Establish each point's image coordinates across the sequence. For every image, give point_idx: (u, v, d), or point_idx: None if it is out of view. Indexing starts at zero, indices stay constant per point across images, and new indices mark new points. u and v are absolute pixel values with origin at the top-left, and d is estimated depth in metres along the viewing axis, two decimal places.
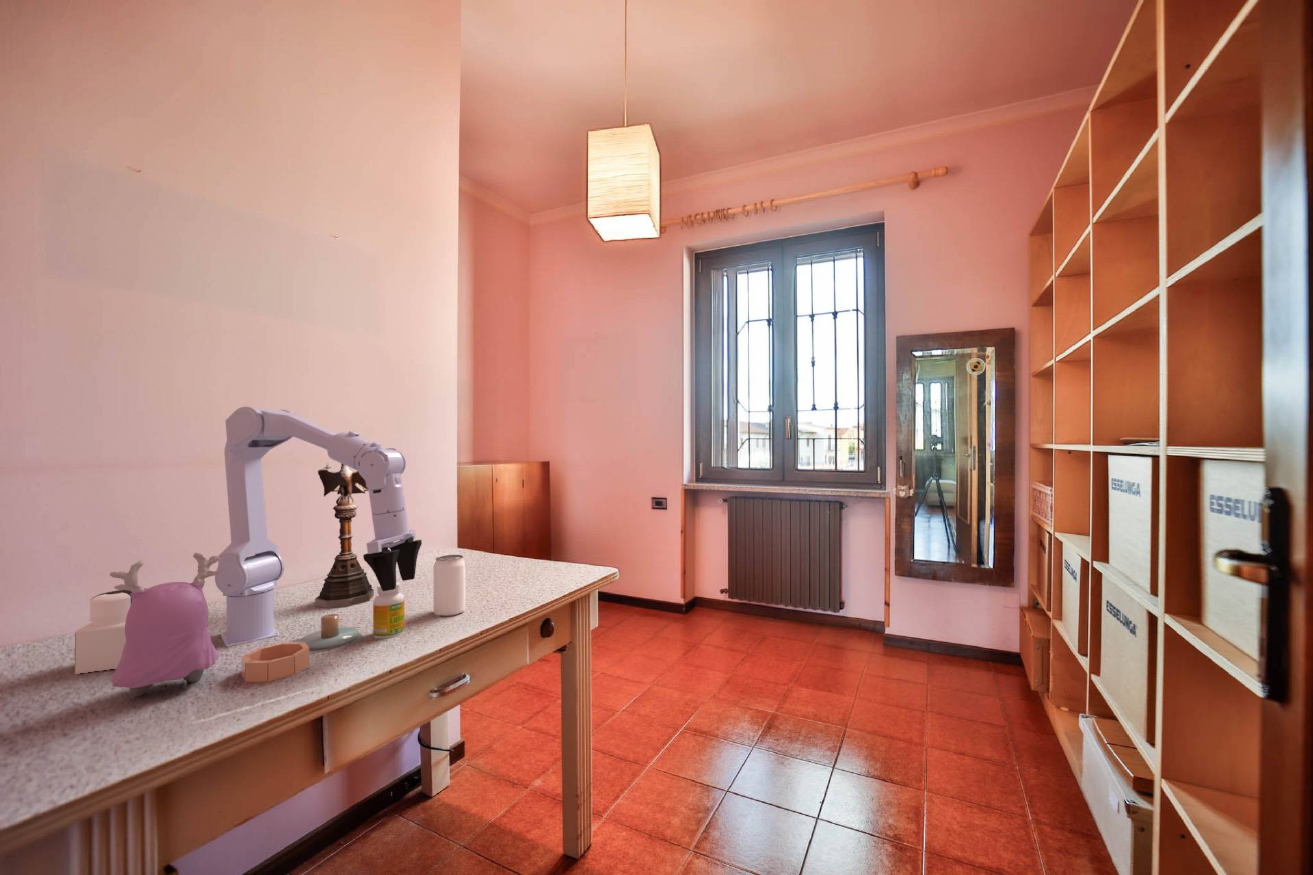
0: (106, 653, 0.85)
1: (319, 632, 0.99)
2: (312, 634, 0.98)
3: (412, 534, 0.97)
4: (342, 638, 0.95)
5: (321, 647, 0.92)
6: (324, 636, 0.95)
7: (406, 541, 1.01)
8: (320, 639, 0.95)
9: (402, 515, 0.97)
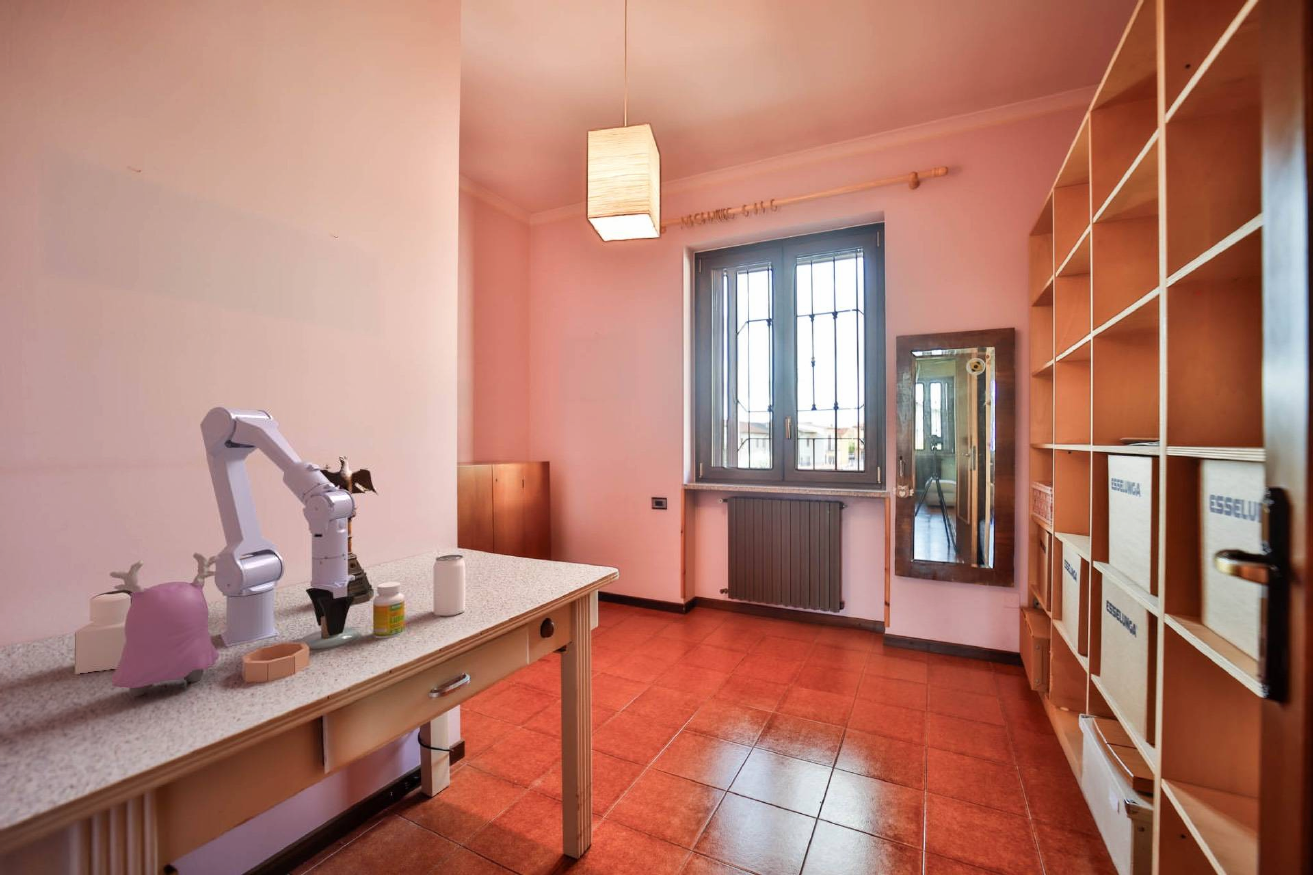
0: (106, 653, 0.85)
1: (319, 632, 0.99)
2: (312, 634, 0.98)
3: (354, 577, 0.99)
4: (342, 638, 0.95)
5: (321, 647, 0.92)
6: (324, 636, 0.95)
7: None
8: (320, 639, 0.95)
9: (347, 558, 0.99)
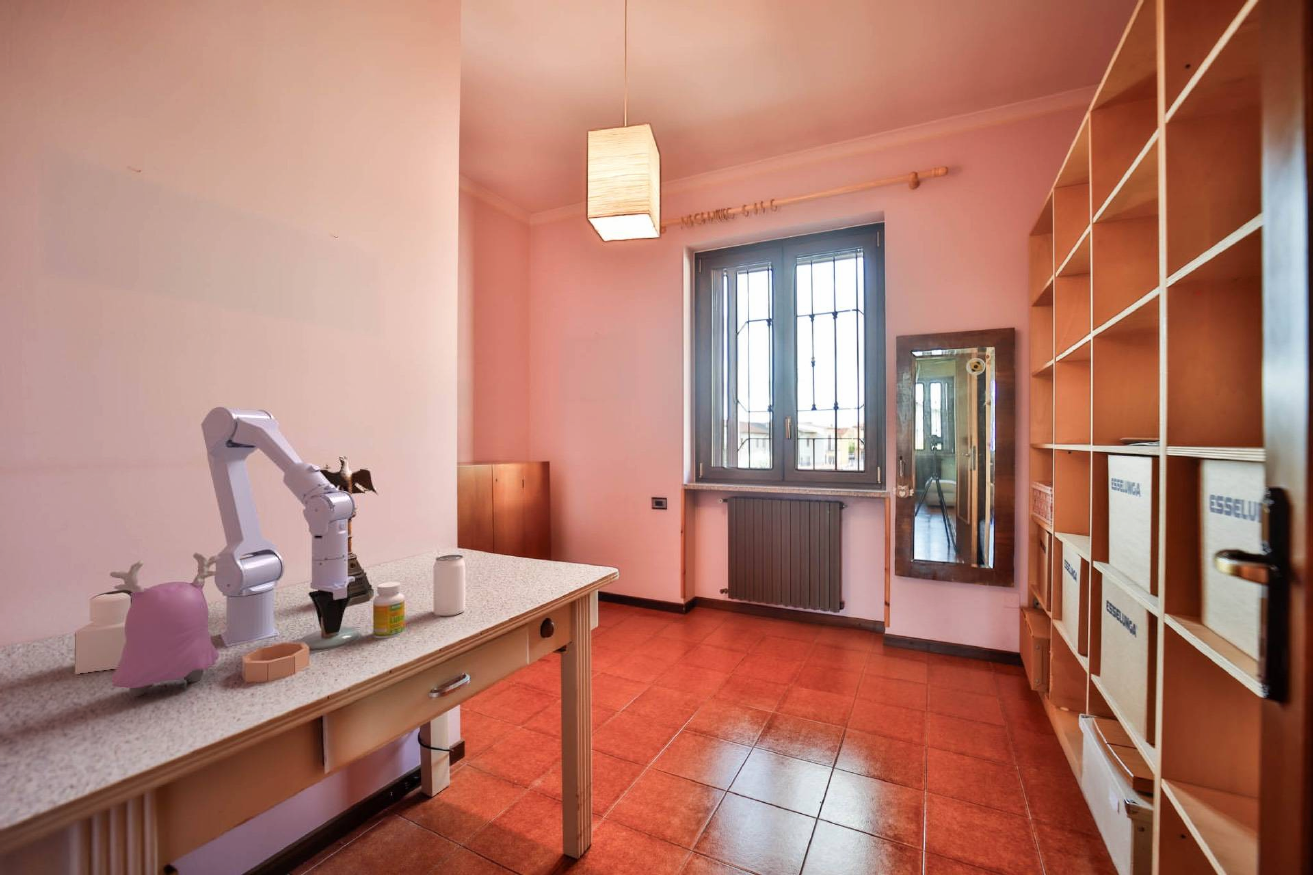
0: (106, 653, 0.85)
1: (319, 632, 0.99)
2: (312, 634, 0.98)
3: (354, 578, 0.99)
4: (342, 638, 0.95)
5: (321, 647, 0.92)
6: (324, 636, 0.95)
7: None
8: (320, 639, 0.95)
9: (347, 560, 0.99)
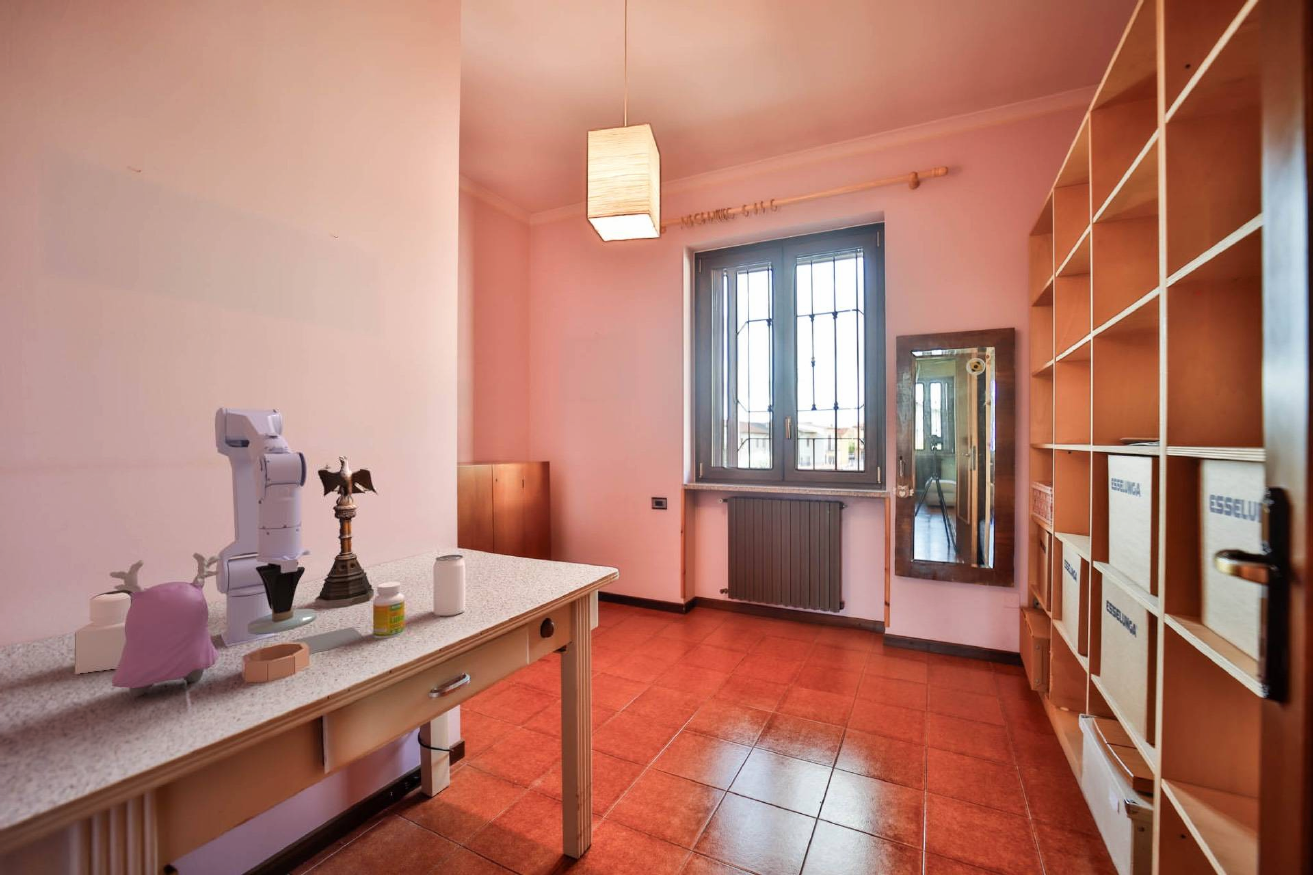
0: (106, 653, 0.85)
1: (269, 616, 0.87)
2: (261, 618, 0.86)
3: (309, 552, 0.88)
4: (298, 620, 0.84)
5: (273, 631, 0.81)
6: (276, 619, 0.84)
7: None
8: (271, 622, 0.83)
9: (300, 530, 0.87)
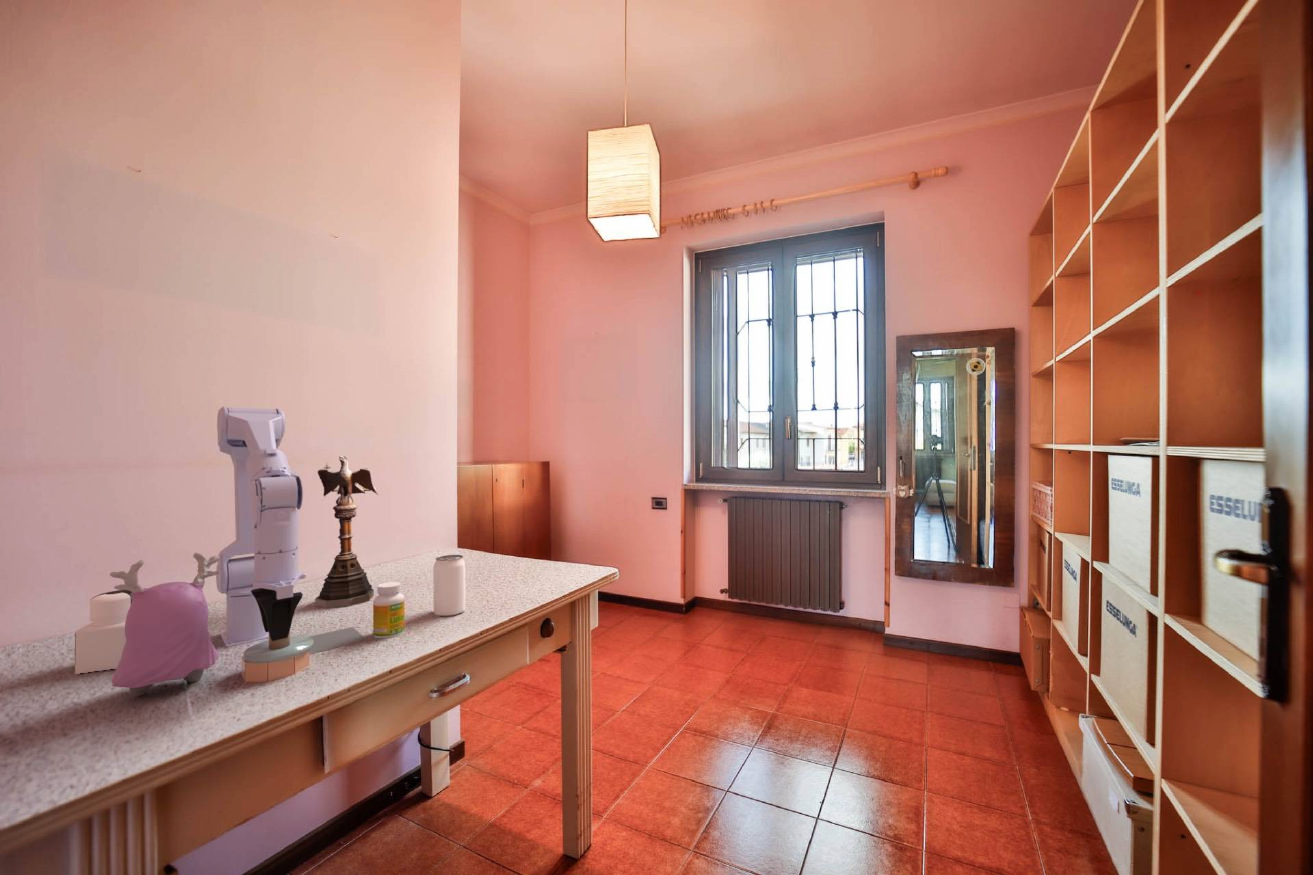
0: (106, 653, 0.85)
1: (266, 642, 0.86)
2: (258, 645, 0.85)
3: None
4: (294, 648, 0.83)
5: (269, 660, 0.80)
6: (273, 647, 0.83)
7: None
8: (267, 650, 0.83)
9: (297, 554, 0.86)
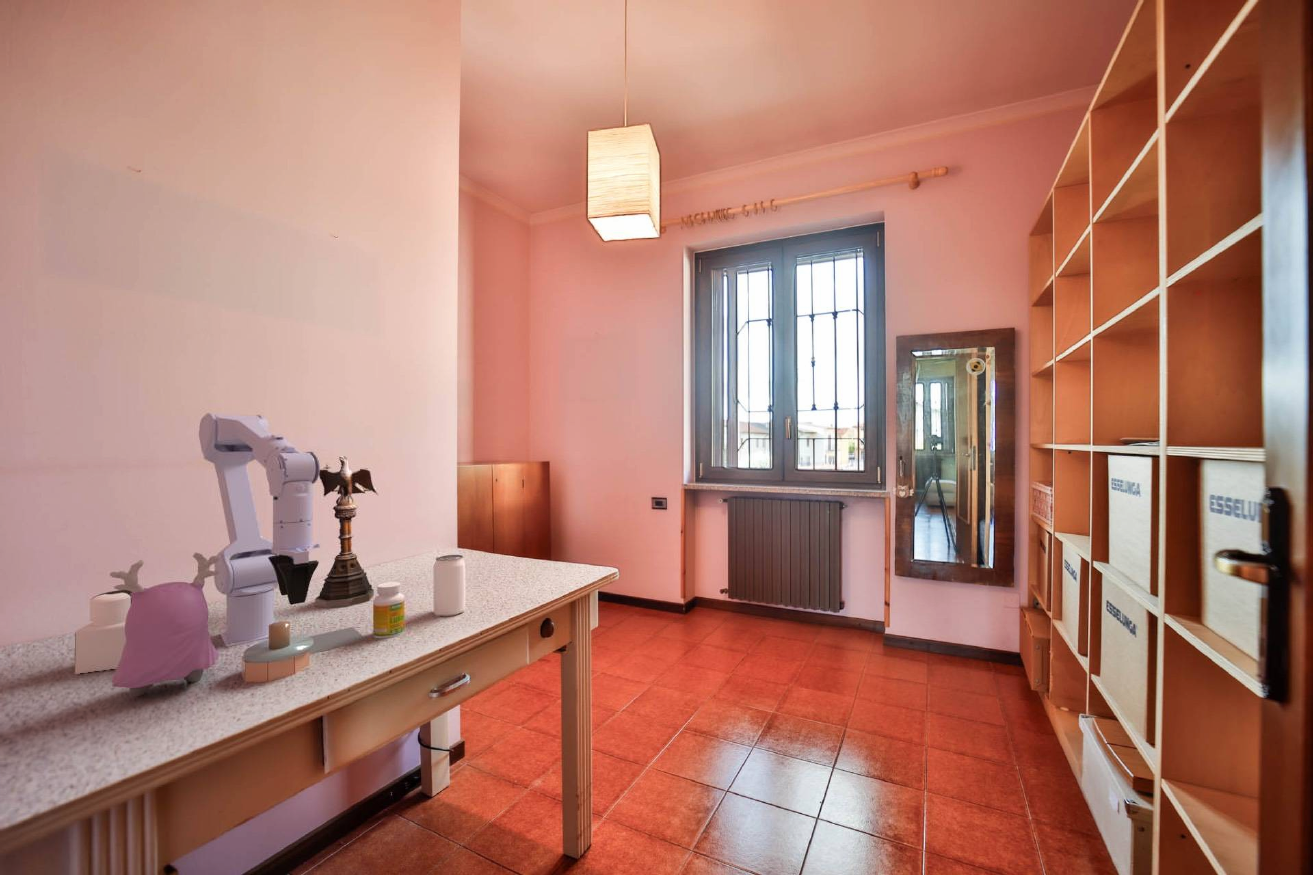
0: (106, 653, 0.85)
1: (266, 642, 0.86)
2: (258, 645, 0.85)
3: None
4: (294, 648, 0.83)
5: (269, 660, 0.80)
6: (273, 647, 0.83)
7: None
8: (267, 650, 0.83)
9: None
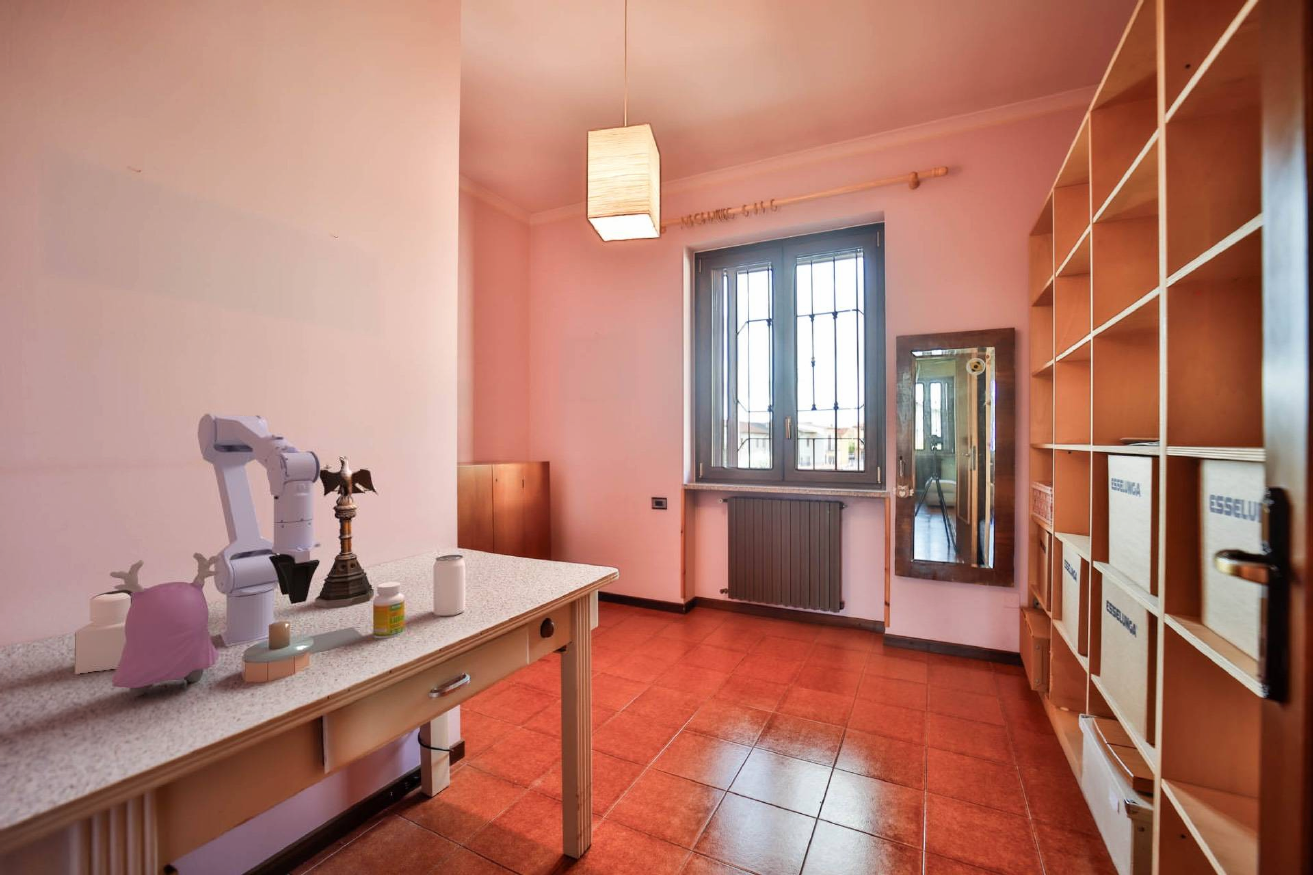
0: (106, 653, 0.85)
1: (266, 642, 0.86)
2: (258, 645, 0.85)
3: (320, 544, 0.94)
4: (294, 648, 0.83)
5: (269, 660, 0.80)
6: (273, 647, 0.83)
7: None
8: (267, 650, 0.83)
9: (312, 524, 0.93)
